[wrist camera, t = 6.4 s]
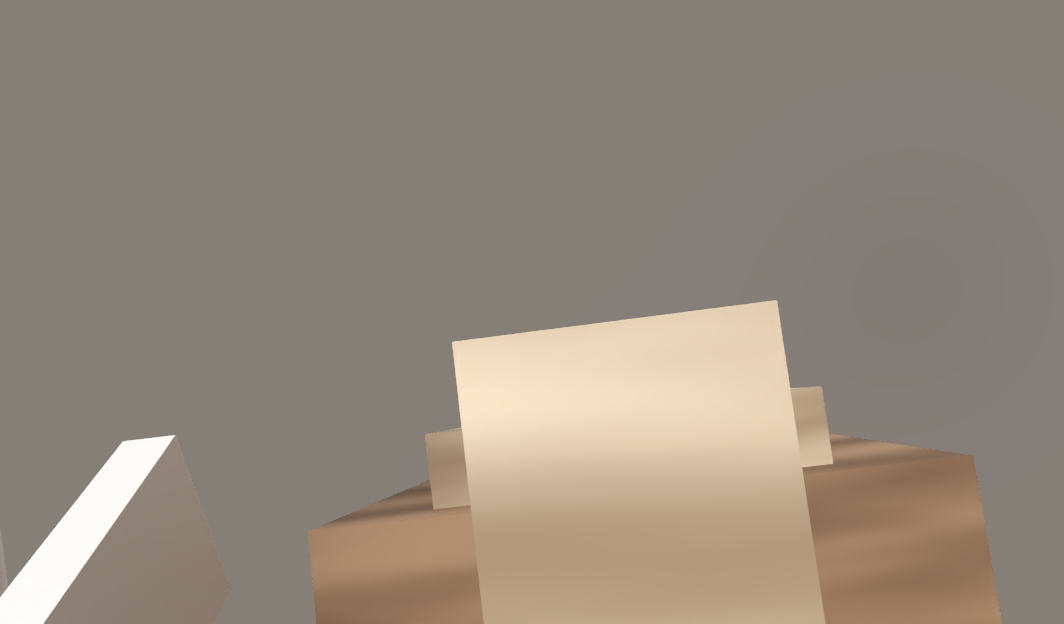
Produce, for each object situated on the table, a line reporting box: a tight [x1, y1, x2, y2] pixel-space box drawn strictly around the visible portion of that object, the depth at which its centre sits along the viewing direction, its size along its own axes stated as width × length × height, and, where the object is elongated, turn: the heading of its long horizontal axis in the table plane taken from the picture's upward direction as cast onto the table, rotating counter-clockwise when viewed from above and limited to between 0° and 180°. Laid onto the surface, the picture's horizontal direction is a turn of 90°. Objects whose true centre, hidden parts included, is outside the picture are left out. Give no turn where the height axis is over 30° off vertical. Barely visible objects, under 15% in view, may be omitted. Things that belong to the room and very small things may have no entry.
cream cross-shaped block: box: [425, 300, 833, 624], centre depth 23 cm, size 30×10×3 cm, turn 175°
